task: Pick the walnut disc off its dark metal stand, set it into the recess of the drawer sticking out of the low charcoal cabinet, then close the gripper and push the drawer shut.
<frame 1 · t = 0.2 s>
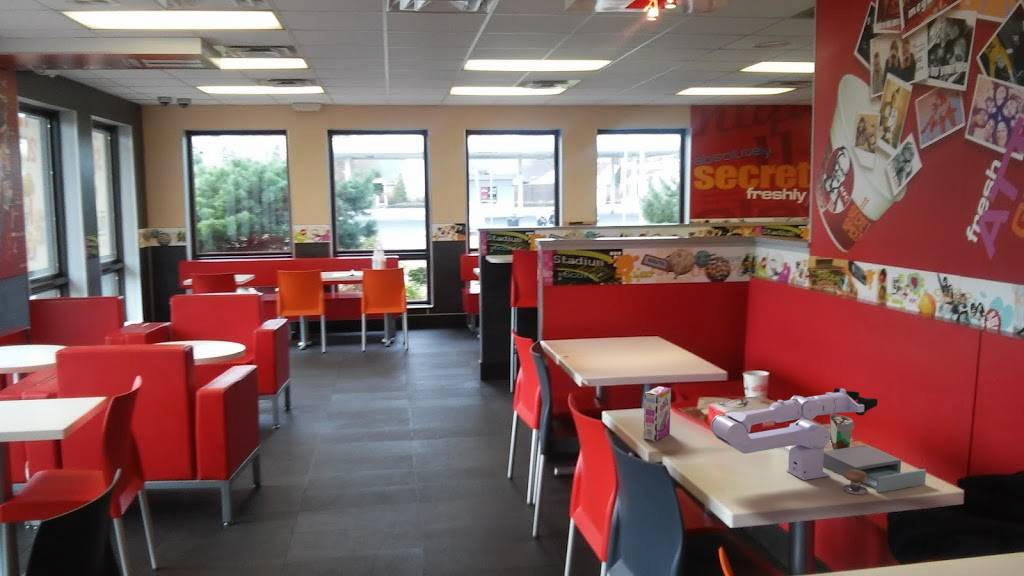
hand: (867, 398, 240), 21 cm above the table, tool horizontal, fingers open, 7 cm apart
candy bar box: (657, 437, 272), on the table
cabinet: (859, 469, 240), on the table
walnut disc: (855, 478, 224), point 3 cm above the table, touching disc stand
drawer: (884, 472, 231), point 2 cm above the table, slide at 8.0 cm
food container: (842, 450, 258), on the table
disc stand: (855, 490, 225), on the table
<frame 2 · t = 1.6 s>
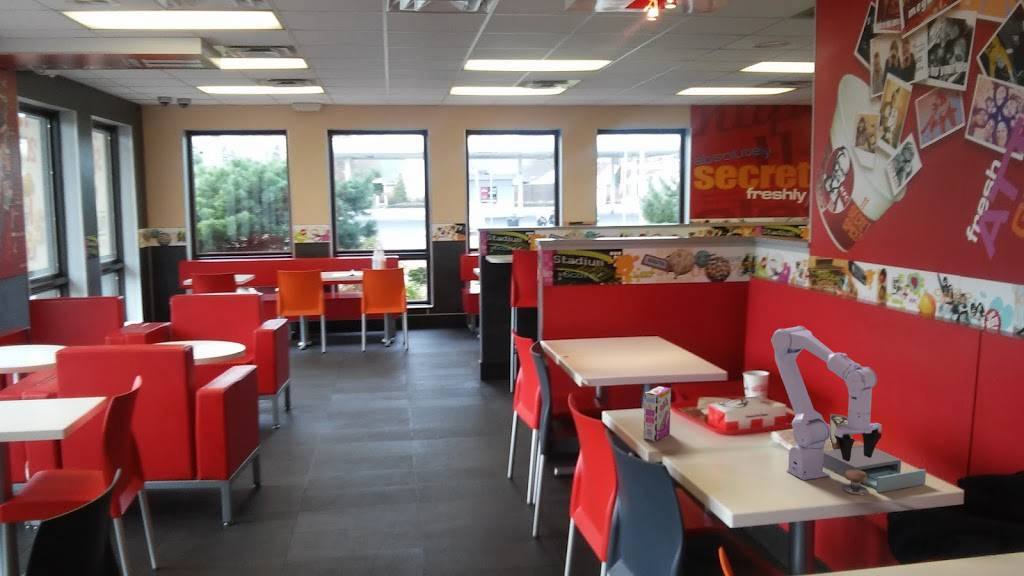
hand: (856, 458, 223), 9 cm above the table, tool pointing down, fingers open, 7 cm apart
nothing on the table moved.
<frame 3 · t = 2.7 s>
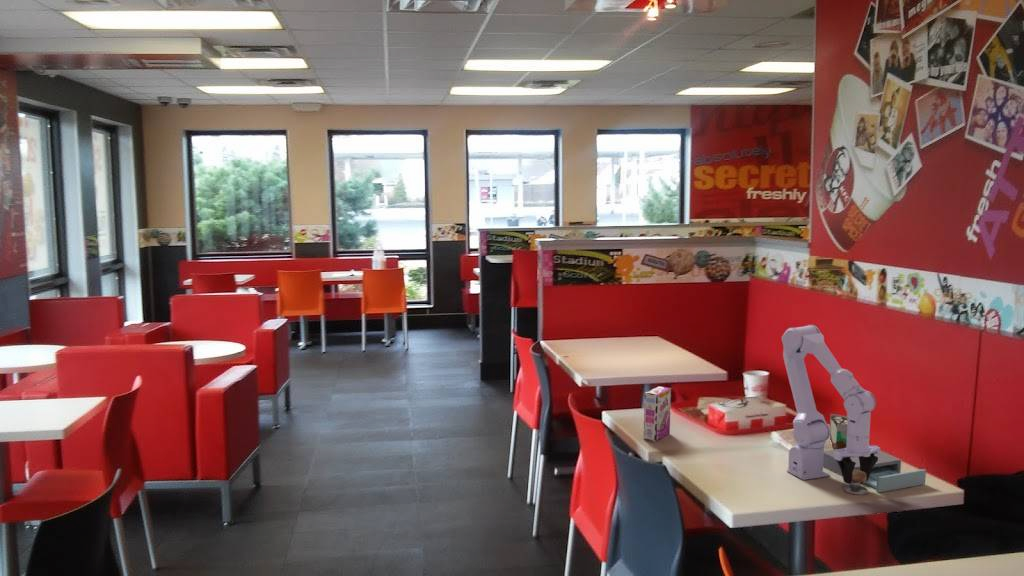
hand: (855, 481, 224), 3 cm above the table, tool pointing down, fingers closed on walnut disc, 5 cm apart
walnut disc: (855, 478, 224), point 3 cm above the table, touching disc stand, gripper
everything else where it was.
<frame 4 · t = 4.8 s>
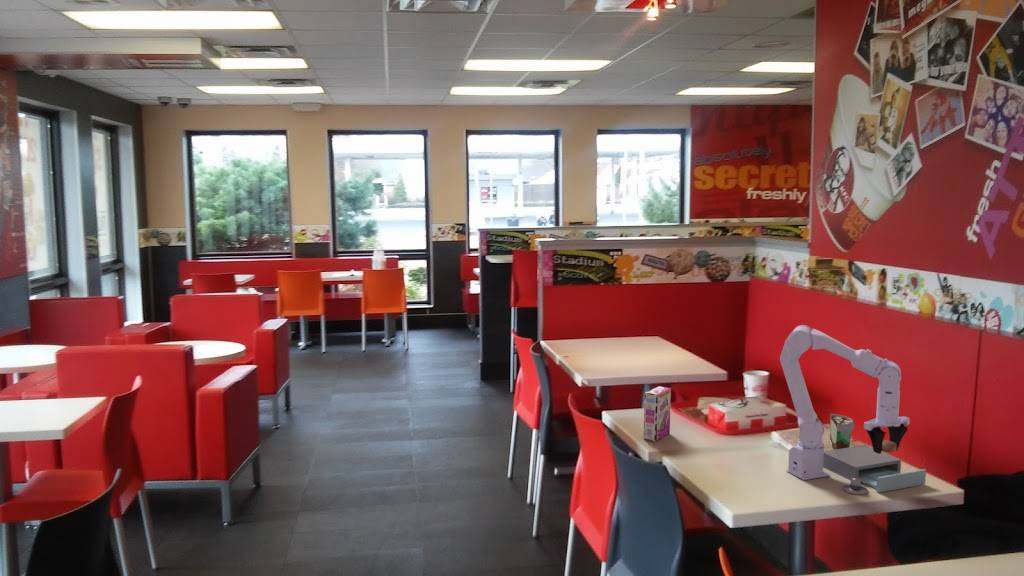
hand: (885, 451, 228), 10 cm above the table, tool pointing down, fingers closed on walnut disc, 5 cm apart
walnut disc: (885, 448, 227), point 11 cm above the table, touching gripper
everything else where it was.
when the fingers open (2 cm above the table, at t = 7.0 s): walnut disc drops 2 cm, resting on drawer.
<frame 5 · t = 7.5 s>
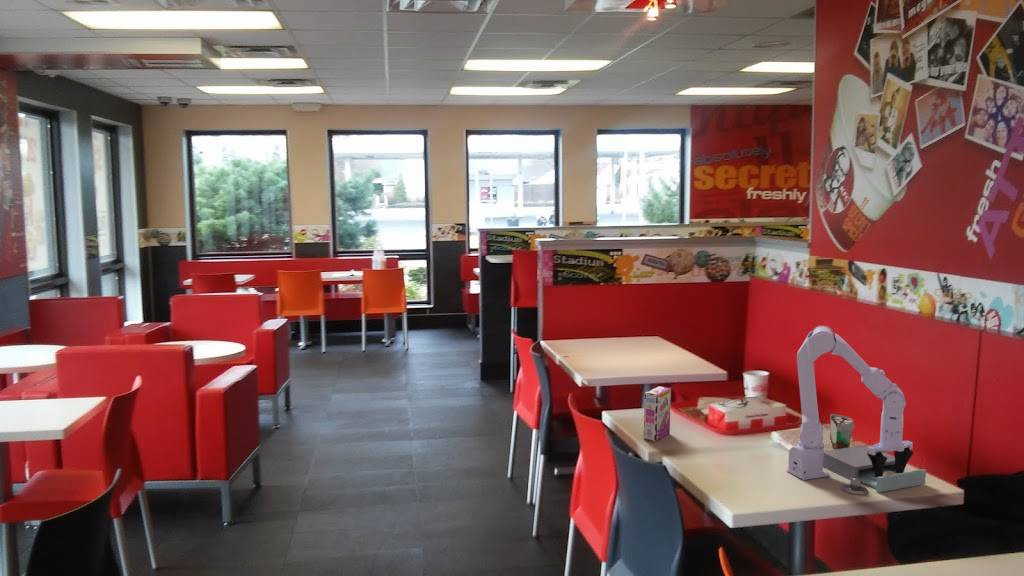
hand: (888, 475, 230), 2 cm above the table, tool pointing down, fingers open, 7 cm apart
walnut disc: (888, 479, 230), point 1 cm above the table, touching drawer
drawer: (884, 472, 231), point 2 cm above the table, slide at 8.0 cm, touching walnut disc
everything else where it was.
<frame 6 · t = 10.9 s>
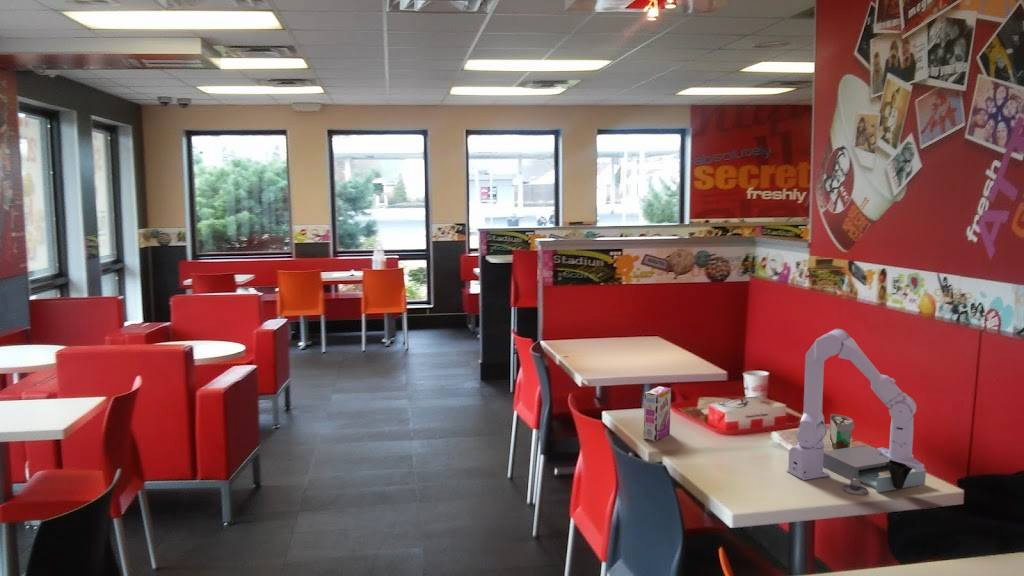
hand: (898, 487, 223), 1 cm above the table, tool pointing down, fingers closed
drawer: (884, 472, 231), point 2 cm above the table, slide at 8.0 cm, touching gripper, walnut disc
everything else where it was.
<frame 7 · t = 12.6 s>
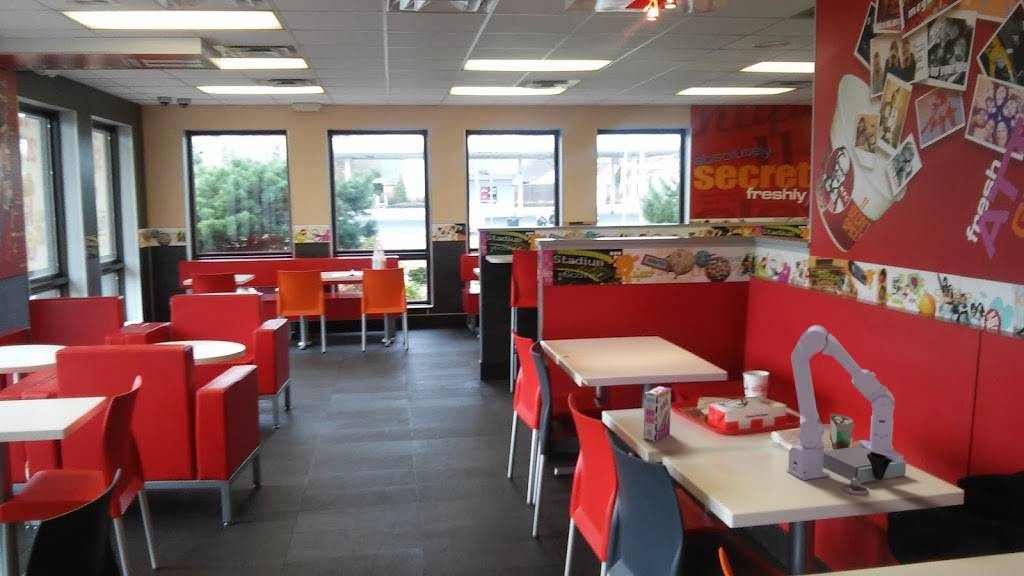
hand: (878, 478, 229), 1 cm above the table, tool pointing down, fingers closed
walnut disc: (870, 471, 236), point 1 cm above the table, touching drawer
drawer: (865, 464, 238), point 2 cm above the table, slide at 0.9 cm, touching gripper, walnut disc
everything else where it was.
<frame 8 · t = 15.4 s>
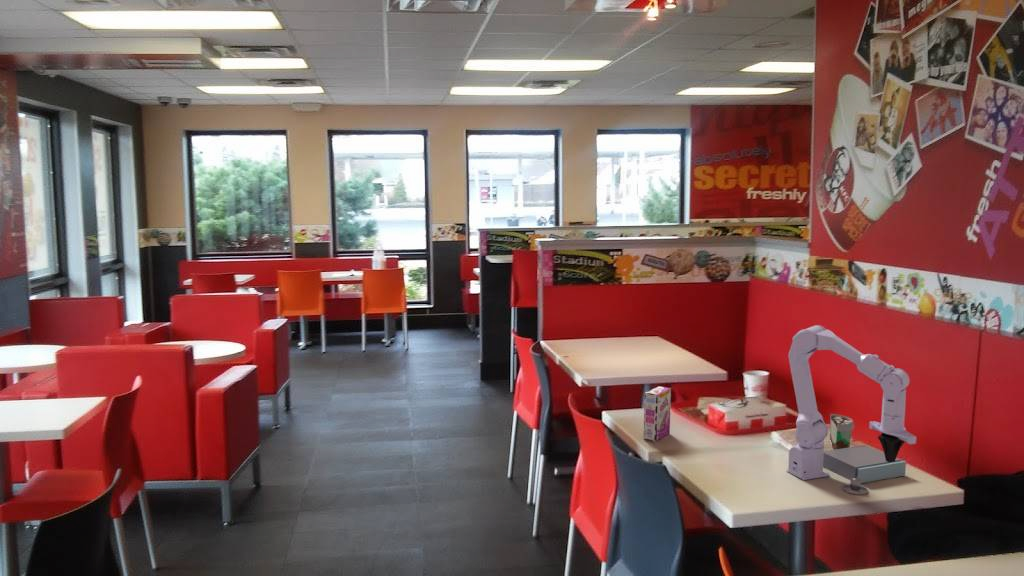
hand: (890, 461, 221), 9 cm above the table, tool pointing down, fingers closed
drawer: (865, 464, 238), point 2 cm above the table, slide at 0.9 cm, touching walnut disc
everything else where it was.
at the end: drawer slide at 0.9 cm; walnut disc inside the target area on the cabinet (3.0 cm from its centre), point 1.0 cm above the cabinet's base; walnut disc tilted 0° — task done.
